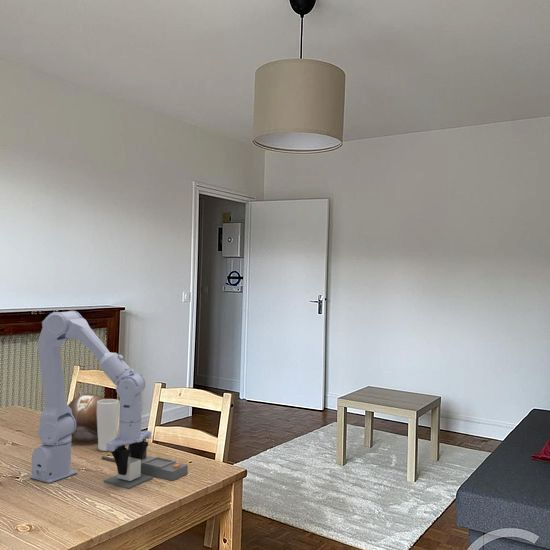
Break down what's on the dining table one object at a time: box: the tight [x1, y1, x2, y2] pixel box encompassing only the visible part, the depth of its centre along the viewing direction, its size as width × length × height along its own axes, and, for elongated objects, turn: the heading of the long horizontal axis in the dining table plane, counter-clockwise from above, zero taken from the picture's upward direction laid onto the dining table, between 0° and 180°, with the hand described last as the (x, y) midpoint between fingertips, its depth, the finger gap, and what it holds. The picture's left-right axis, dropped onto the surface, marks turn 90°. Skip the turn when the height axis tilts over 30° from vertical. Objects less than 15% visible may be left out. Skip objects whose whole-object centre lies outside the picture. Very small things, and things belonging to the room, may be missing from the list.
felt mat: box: [103, 473, 154, 490], centre depth 147 cm, size 9×9×1 cm
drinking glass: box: [97, 398, 120, 452], centre depth 174 cm, size 7×7×15 cm
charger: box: [116, 457, 142, 481], centre depth 147 cm, size 4×4×4 cm
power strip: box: [101, 446, 189, 482], centre depth 157 cm, size 6×29×6 cm, turn 61°
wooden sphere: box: [67, 393, 105, 442], centre depth 183 cm, size 15×15×15 cm
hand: (128, 471), depth 147 cm, fingers open, 4 cm apart
